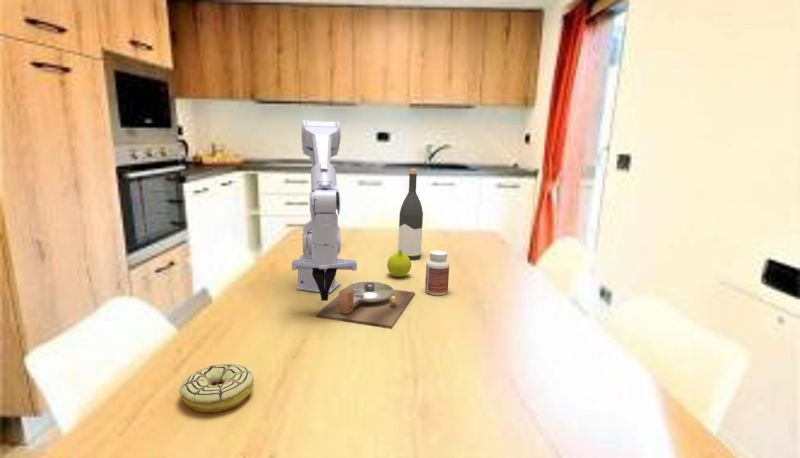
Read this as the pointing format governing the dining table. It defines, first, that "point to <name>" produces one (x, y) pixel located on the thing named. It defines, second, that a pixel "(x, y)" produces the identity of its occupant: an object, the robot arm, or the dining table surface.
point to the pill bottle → (437, 273)
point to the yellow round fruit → (399, 264)
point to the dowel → (393, 301)
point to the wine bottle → (411, 222)
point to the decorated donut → (217, 387)
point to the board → (370, 311)
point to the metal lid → (363, 294)
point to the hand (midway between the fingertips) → (324, 299)
